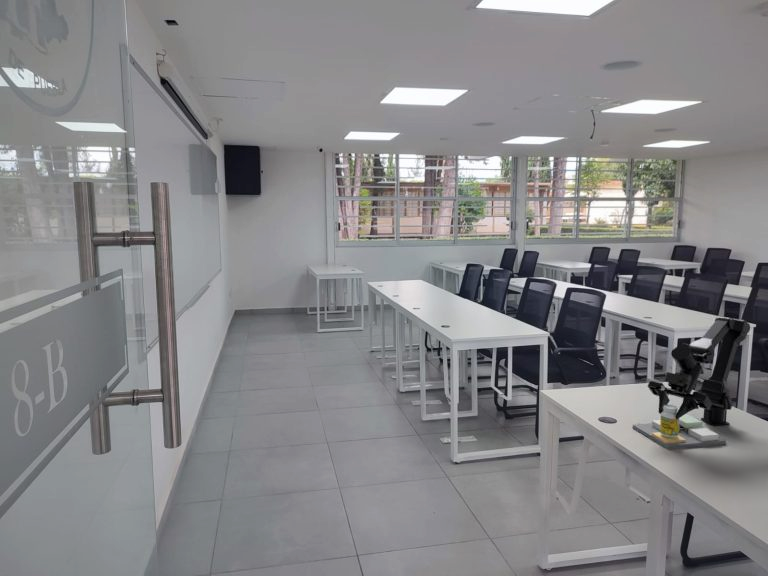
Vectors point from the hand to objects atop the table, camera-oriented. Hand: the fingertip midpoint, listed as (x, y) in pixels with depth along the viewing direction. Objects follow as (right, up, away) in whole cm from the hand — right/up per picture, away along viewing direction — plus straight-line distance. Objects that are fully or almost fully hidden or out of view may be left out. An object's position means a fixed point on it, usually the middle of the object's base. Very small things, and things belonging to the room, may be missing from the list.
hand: (667, 415), depth 171 cm
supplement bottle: (+1, -7, +2) cm, 7 cm away
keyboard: (+7, -8, +7) cm, 13 cm away
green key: (+12, -6, +12) cm, 18 cm away
